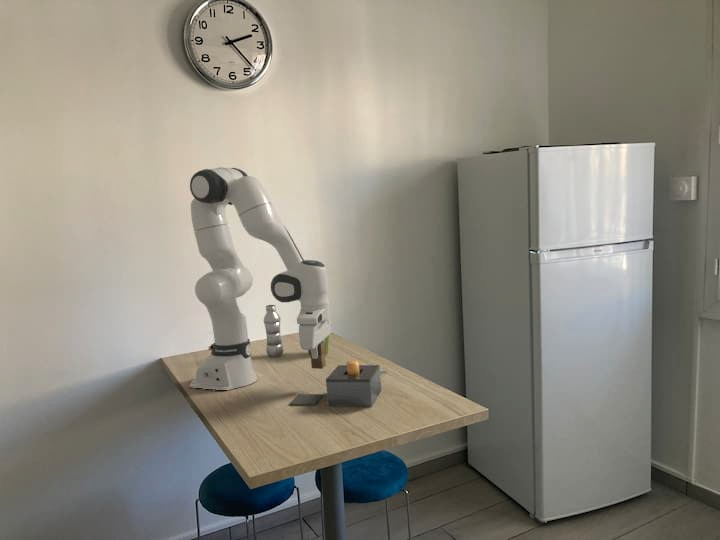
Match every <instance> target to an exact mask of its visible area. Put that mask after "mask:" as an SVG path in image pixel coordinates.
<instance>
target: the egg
mask: <svg viewBox="0 0 720 540" xmlns="http://www.w3.org/2000/svg"><path fill="white" fill-rule="evenodd" d="M346 365H347V375H360V372H359V365H360V362H359V361H358V360H356V359H355V360H348V361H346Z"/></svg>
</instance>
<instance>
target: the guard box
mask: <svg viewBox="0 0 720 540" xmlns="http://www.w3.org/2000/svg"><path fill="white" fill-rule="evenodd" d="M380 366H381V365H380V364H377V365H375V364H374V365H372V364H370V365H368V364H367V365H366V364H365V365H363V364H361V365H360V364H359V372H360V375H347V364H344V365H342V364H341V365H340V364H339V365H337V366H336V367H335V368H334V369H333V371H332V372H331V373H330V374H329V375H328V376H327V378H325V384H326V394H327V398H326V399H327V406H328V407H361V406H363V408H364V407H366V408H368V407H369V408H370V407H373V406H374V404H375V402H376V400H377V399H378V397H379V396H380V394H381V392H382V382H381V380H382V379H381V374H380Z"/></svg>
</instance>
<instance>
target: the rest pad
mask: <svg viewBox="0 0 720 540" xmlns="http://www.w3.org/2000/svg"><path fill="white" fill-rule="evenodd" d="M323 397H324V394H323V393H322V394H321V393H316V394H315V393H307V394H306V393H298V394H297V395H296V396H295V397H294V398H293V399H292V400H291V401H290V402H289V403H288V405H289V406H300V407H301V406H302V407H303V406H304V407H305V406H310V407H312V406H316V405H317V404H318V403H319V402H320V401H321V399H323Z"/></svg>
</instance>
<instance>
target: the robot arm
mask: <svg viewBox="0 0 720 540" xmlns="http://www.w3.org/2000/svg"><path fill="white" fill-rule="evenodd" d="M189 190H190V192H191V195H192V197H193V199H192V201H191V202H190V216H191V223H192V228H193V232H194V233H193V234H194V238H195V241H196V244H197V249H198V253H199V254H200V256H201V257H202V258H203V259H205V260H206V261H207V263H208V264H209V267H210V268H211V271H209V272H207V273H205V274H204V275H202V276H201V277H200V278H199V279H198V280H197V281H196V284H195V285H194V286H195V287H194V291H195V296H196V299H198V300H199V302H200V303H201V304H203V305H204V306H205V308H206V309H207V310H206V311H207V312H208V315H209V317H210V321H211V324H212V332H213V338H214V342H213V343H212V344H210V346H208V347H207V349H208V350H207V351H210V353H211V354H209V356H207V357H206V358H205V359H204V360H203V361H202V362H201V363H200V364H199V365H198V367H197V368H196V372H195V379H193V380H192V381H191V382H190V384H189V388H190V387H196V388H206V389H216V390H227V391H231V390H234V389H237V388H243V387H246V386H249V385H252V384H253V383H255V382H256V381H257V380H258V375H257V373H256V371H255V369H254V365H253V362H252V348H251V342H250V339H249V335H248V325H247V319H246V318H247V317H246V316H245V314H244V313H242V312H241V309H240V308H239V305H238V302H237V299H238V298H240V297H242V296H244V295H245V294H247V292H248V291H249V290H250V289H251V287H252V286H253V282H254V278H253V274H252V273H251V271H250V269H248V268H247V267H245V265H244V264H243V262H242V260H241V259H240V257H239V255H238V253H237V251H236V249H235V245H234V242H233V239H232V235H231V232H230V227H229V225H228V224H229V223H228V220H227V218H226V217H227V216H226V207H227V205H228V206H229V205H230V206H234V208H235V211H236V214H237V216H238V217H239V220H240V223H241V225H242V227H243V228H244V230H245V231H246V233H247V234H248V235H249V236H251V238H254V239H257V240H261V241H264V242H266V243H267V244H269V245H271V246H272V247H273V248H274V249H275V250H276V251H277V253H278V255H279V257H280V259H281V261H282V262H283V264H284V266H285V268H286V270H285V271H282V272H279V273H278V274H276V275H274V277H272V279H271V282H270V293H271V295H272V296H273V298H275V300H277V301H278V302H280V303H291V302H296V301H298V302H300V309H299V313H298V316H297V317H296V324H297V325H299V326H298V335H299V343H300V344H299V345H300V347H301V349H302V350H304V351H308V350H310V351H311V353H312V358H313V359H317V358H318V357H319V352H318V351H317V348H318V344H319V343H321V342H322V341H324V342H325V338H326V337H327V336H328V335H329V336H330V335H331V333H332V321H331V313H330V312H331V311H330V300H329V296H328V292H329V279H328V272H327V268H326V266H325V264H324V263H322V261H319V260H313V259H311V260H310V259H306V260H304V257H303V255H302V254H301V252H300V250H299V249H298V247H297V245H296V243H295V241H294V239H293V237H292V236H291V234H290V232H289V230H288V229H287V228H286V226H285V225H284V223H283V222H282V221H281V219H280V217H279V216H278V214H277V212H276V210H275V208H274V205H273V203H272V201H271V199H270V196H269V195H268V193H267V192H266V190H265V188H264V187H263V185H262V184H261V182H260V181H259V180H258V179H257V177H255V176H251V175H248V174H247V173H246V172H245V171H244V170H242V169H240V168H235V167H216V168H215V167H214V168H210V169H208V168H205V169H201V170H198V171H197V172H195V173H193V175H192V177H191V178H190V182H189Z"/></svg>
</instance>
